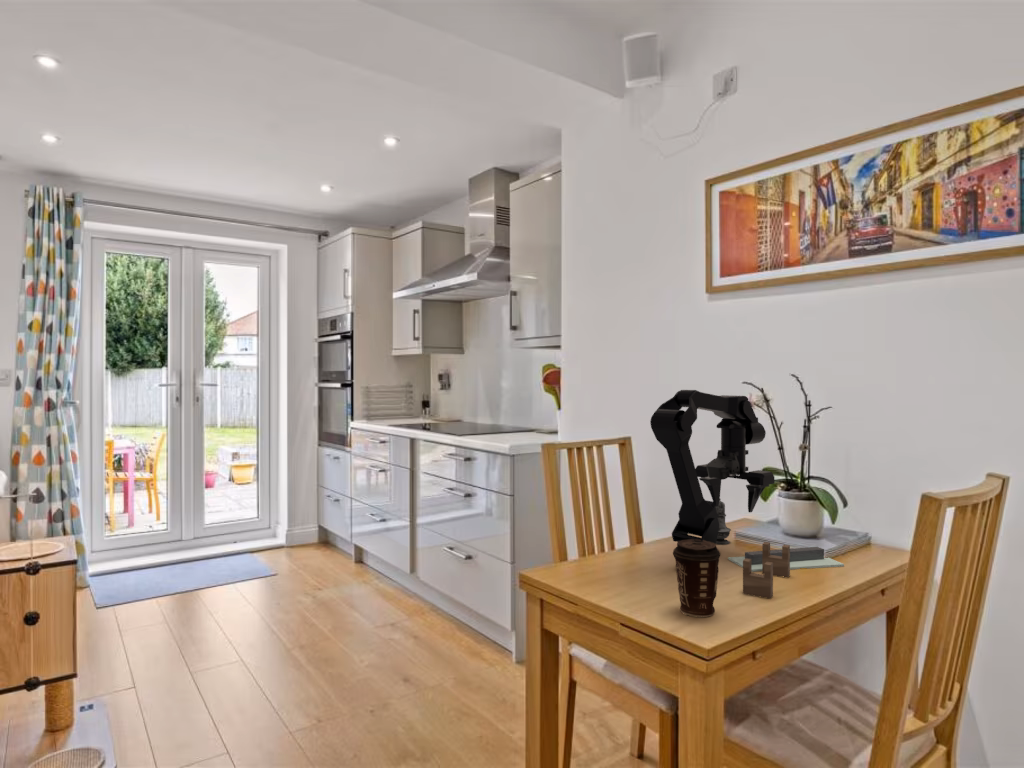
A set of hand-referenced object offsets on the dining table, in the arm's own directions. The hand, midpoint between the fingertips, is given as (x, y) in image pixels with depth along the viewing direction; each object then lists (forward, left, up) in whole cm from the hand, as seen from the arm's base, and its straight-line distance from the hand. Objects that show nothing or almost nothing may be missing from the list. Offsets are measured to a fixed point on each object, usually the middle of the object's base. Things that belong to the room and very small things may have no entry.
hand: (733, 509), depth 155 cm
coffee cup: (-25, -32, -12) cm, 42 cm away
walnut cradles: (-3, -20, -12) cm, 23 cm away
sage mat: (+10, -6, -12) cm, 17 cm away
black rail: (+10, -6, -12) cm, 16 cm away
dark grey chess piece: (+4, +14, -12) cm, 19 cm away
